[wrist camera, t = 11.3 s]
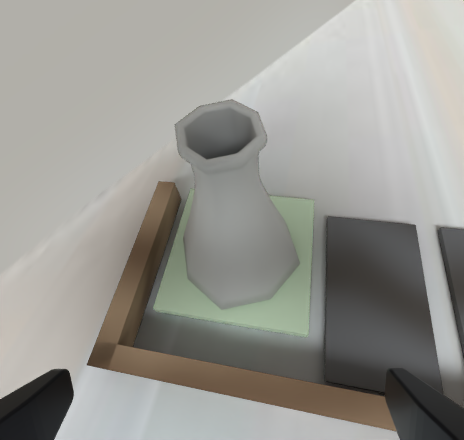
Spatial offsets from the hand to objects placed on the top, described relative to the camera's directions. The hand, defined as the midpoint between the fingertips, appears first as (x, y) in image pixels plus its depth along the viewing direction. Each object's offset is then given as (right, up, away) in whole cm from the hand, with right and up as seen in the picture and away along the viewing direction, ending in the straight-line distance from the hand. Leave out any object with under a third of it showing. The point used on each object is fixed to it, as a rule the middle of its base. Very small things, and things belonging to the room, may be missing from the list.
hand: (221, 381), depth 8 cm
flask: (+1, +2, +11) cm, 11 cm away
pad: (+1, +2, +11) cm, 11 cm away
